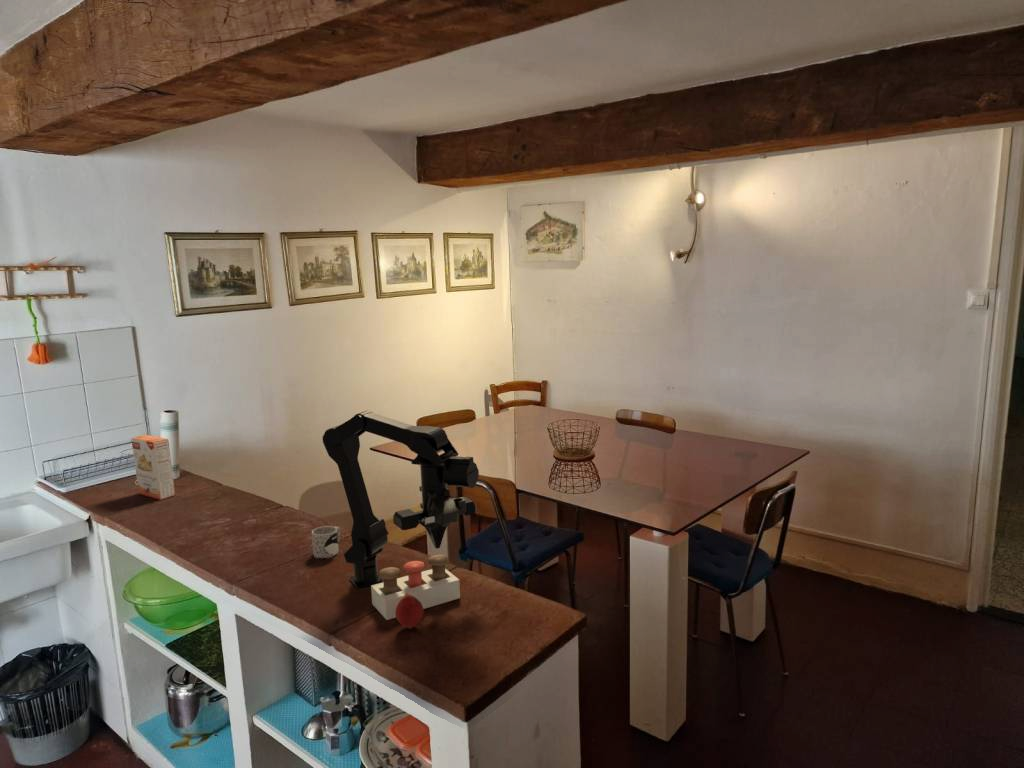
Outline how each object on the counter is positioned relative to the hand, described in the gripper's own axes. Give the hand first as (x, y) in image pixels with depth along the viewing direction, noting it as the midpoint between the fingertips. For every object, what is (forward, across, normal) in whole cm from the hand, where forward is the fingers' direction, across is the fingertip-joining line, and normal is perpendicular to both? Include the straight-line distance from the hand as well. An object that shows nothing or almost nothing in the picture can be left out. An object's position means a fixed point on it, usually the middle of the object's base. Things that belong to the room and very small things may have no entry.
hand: (437, 547), depth 162 cm
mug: (+12, -14, +41) cm, 45 cm away
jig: (+11, -6, 0) cm, 13 cm away
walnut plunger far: (+8, 0, 0) cm, 8 cm away
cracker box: (+12, -50, +128) cm, 138 cm away
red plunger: (+8, -6, 0) cm, 10 cm away
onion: (+12, -12, -11) cm, 20 cm away
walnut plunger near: (+8, -12, 0) cm, 14 cm away
